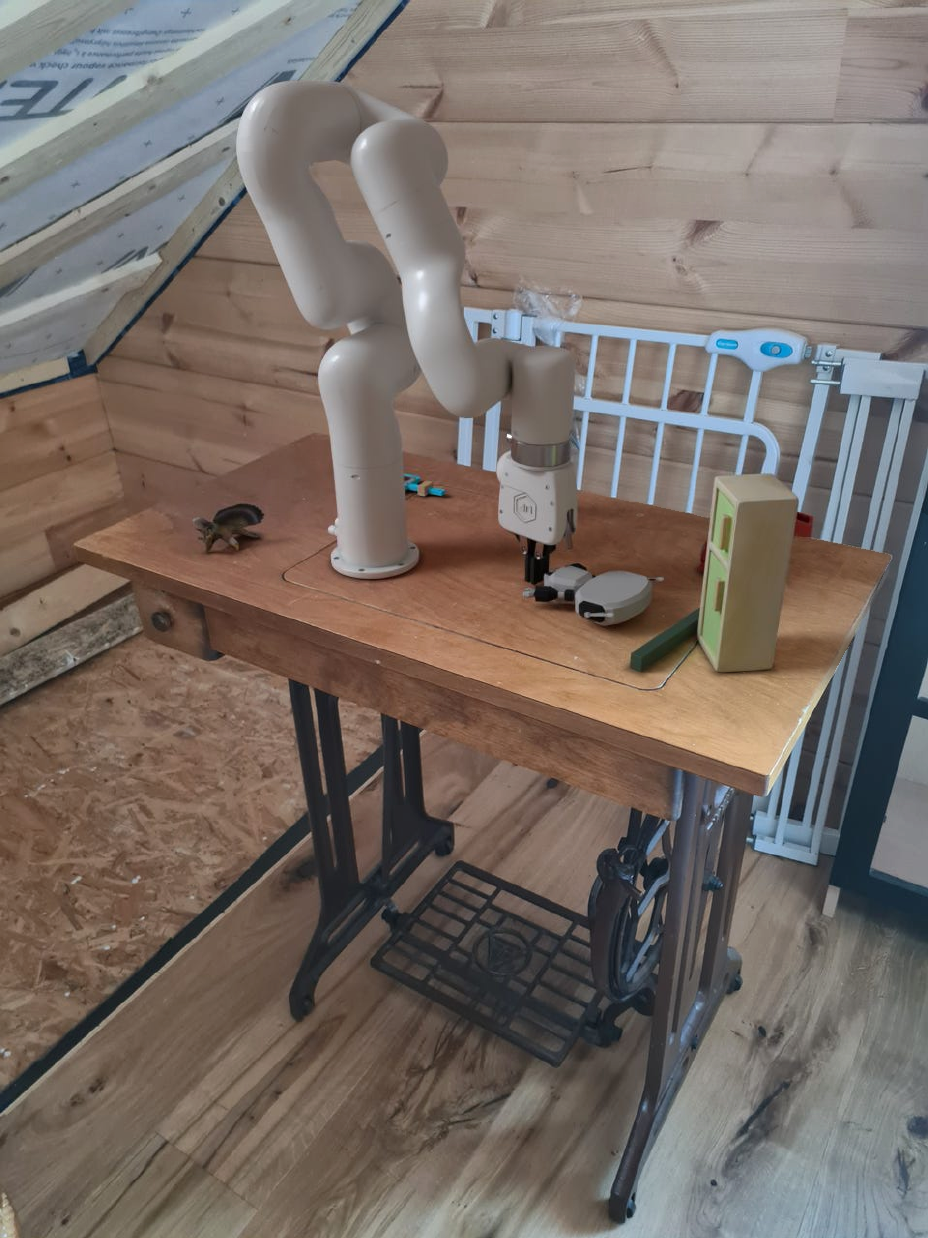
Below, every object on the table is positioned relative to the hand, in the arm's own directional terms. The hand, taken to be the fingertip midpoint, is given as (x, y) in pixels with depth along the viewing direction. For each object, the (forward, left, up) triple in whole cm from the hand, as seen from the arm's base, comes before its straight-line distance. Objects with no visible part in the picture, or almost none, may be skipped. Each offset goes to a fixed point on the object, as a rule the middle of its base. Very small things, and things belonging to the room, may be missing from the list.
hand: (536, 579), depth 124 cm
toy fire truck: (+20, +22, -1) cm, 29 cm away
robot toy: (+9, 0, -1) cm, 9 cm away
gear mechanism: (-41, +11, -1) cm, 42 cm away
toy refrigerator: (+28, +2, -1) cm, 28 cm away
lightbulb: (-17, +16, -1) cm, 23 cm away
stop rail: (+22, 0, -1) cm, 22 cm away
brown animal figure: (-42, -20, -1) cm, 47 cm away
